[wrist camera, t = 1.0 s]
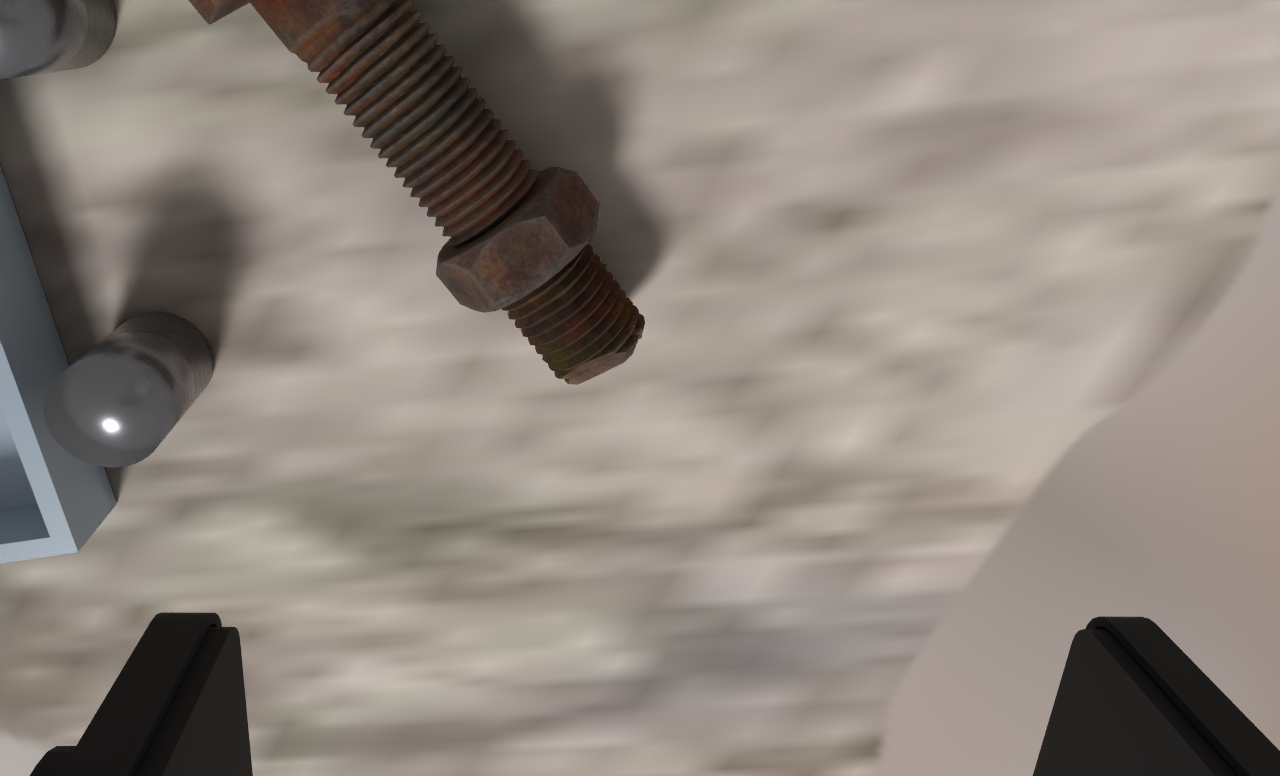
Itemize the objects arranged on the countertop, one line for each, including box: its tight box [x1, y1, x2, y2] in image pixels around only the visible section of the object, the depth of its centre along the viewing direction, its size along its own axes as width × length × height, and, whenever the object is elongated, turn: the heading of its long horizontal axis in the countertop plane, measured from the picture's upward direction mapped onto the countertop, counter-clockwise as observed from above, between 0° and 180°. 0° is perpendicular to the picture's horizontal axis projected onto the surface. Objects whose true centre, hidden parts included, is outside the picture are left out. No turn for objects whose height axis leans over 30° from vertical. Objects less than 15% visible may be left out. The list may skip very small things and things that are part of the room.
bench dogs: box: [0, 0, 214, 467], centre depth 26 cm, size 3×13×4 cm, turn 6°
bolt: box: [189, 0, 645, 385], centre depth 27 cm, size 6×5×15 cm
